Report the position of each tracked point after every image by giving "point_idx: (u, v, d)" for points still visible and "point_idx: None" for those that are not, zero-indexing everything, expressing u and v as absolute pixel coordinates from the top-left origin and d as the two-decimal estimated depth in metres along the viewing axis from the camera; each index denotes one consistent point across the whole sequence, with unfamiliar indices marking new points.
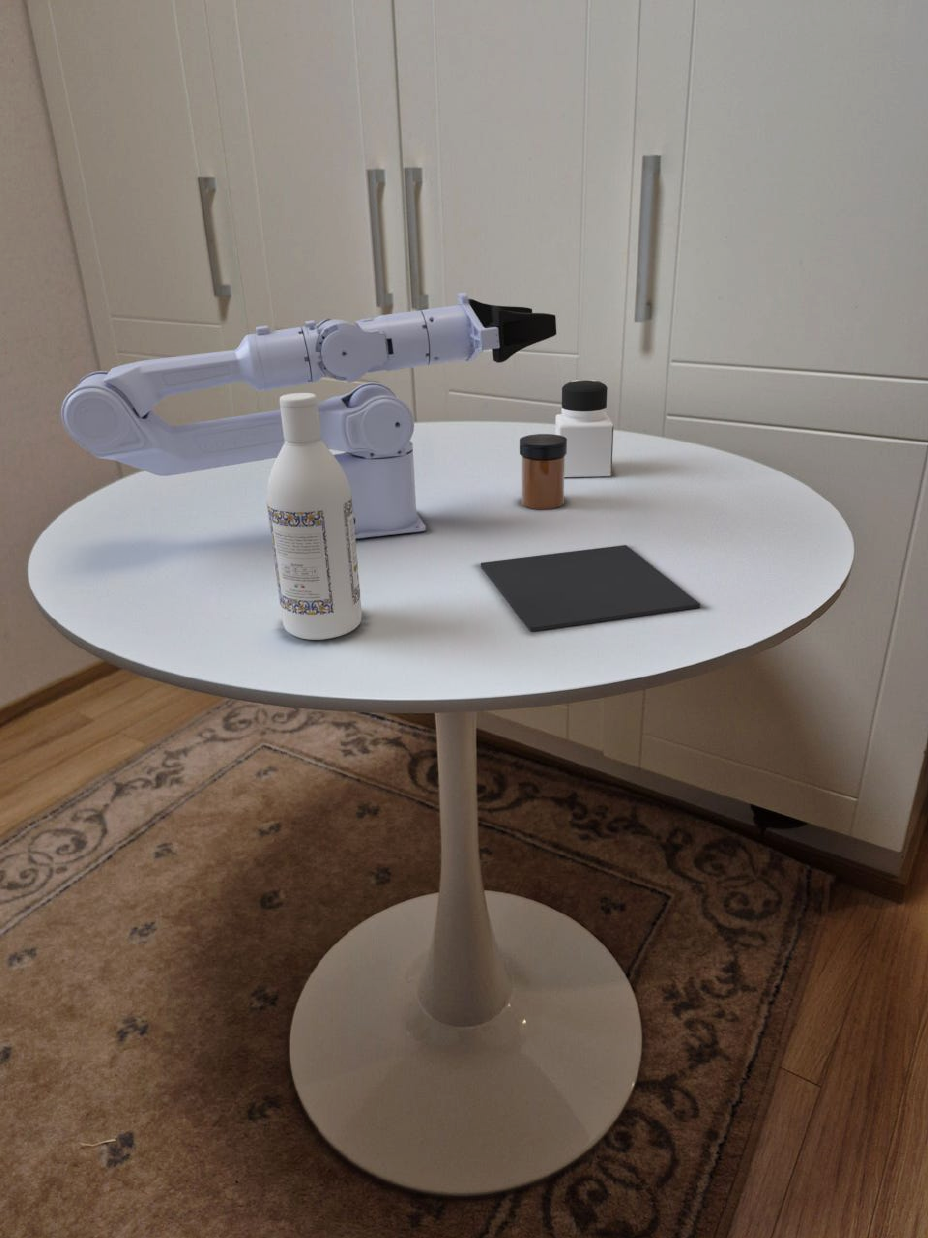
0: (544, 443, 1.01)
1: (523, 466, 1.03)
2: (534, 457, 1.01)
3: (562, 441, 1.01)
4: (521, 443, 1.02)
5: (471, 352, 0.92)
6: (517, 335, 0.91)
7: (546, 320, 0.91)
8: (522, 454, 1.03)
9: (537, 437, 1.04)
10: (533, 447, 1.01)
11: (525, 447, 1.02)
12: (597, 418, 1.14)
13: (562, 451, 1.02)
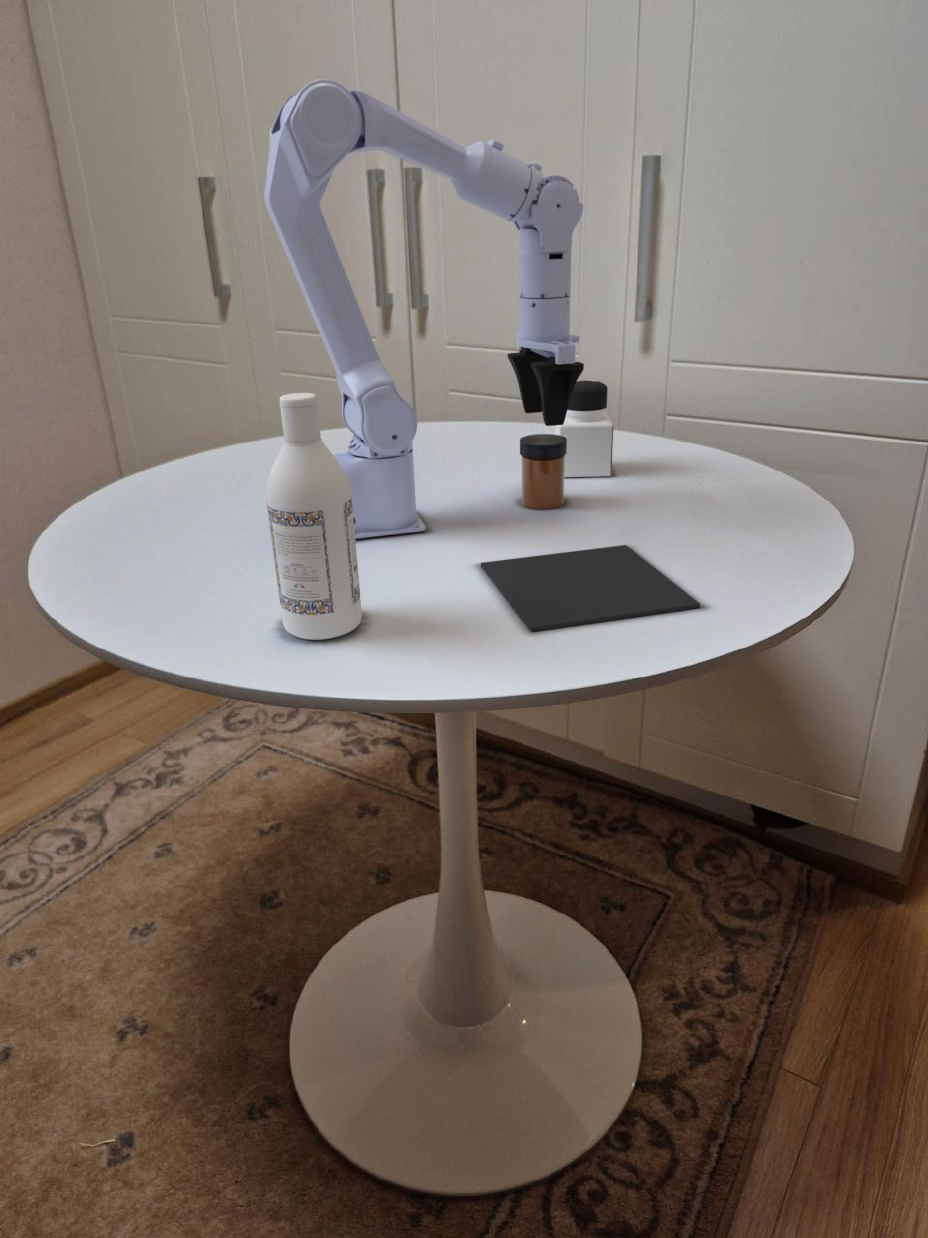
0: (544, 443, 1.01)
1: (523, 466, 1.03)
2: (534, 457, 1.01)
3: (562, 441, 1.01)
4: (521, 443, 1.02)
5: (536, 341, 0.95)
6: (552, 386, 0.96)
7: (560, 415, 0.98)
8: (522, 454, 1.03)
9: (537, 437, 1.04)
10: (533, 447, 1.01)
11: (525, 447, 1.02)
12: (597, 418, 1.14)
13: (562, 451, 1.02)
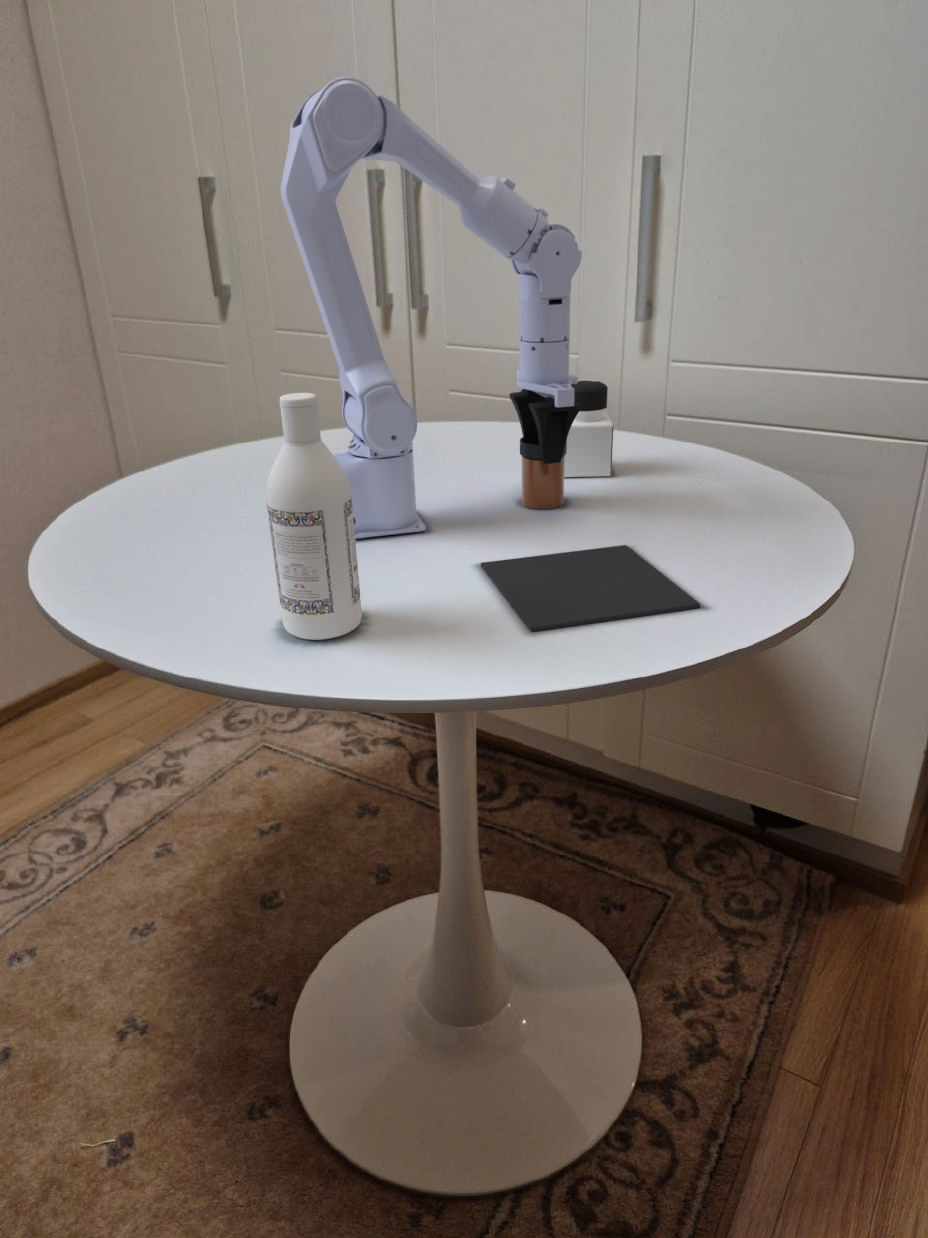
0: None
1: (523, 466, 1.03)
2: (534, 457, 1.01)
3: None
4: (521, 443, 1.02)
5: (535, 384, 0.97)
6: (549, 426, 0.99)
7: (558, 454, 1.00)
8: (522, 454, 1.03)
9: (537, 437, 1.04)
10: (533, 447, 1.01)
11: (525, 447, 1.02)
12: (597, 418, 1.14)
13: None
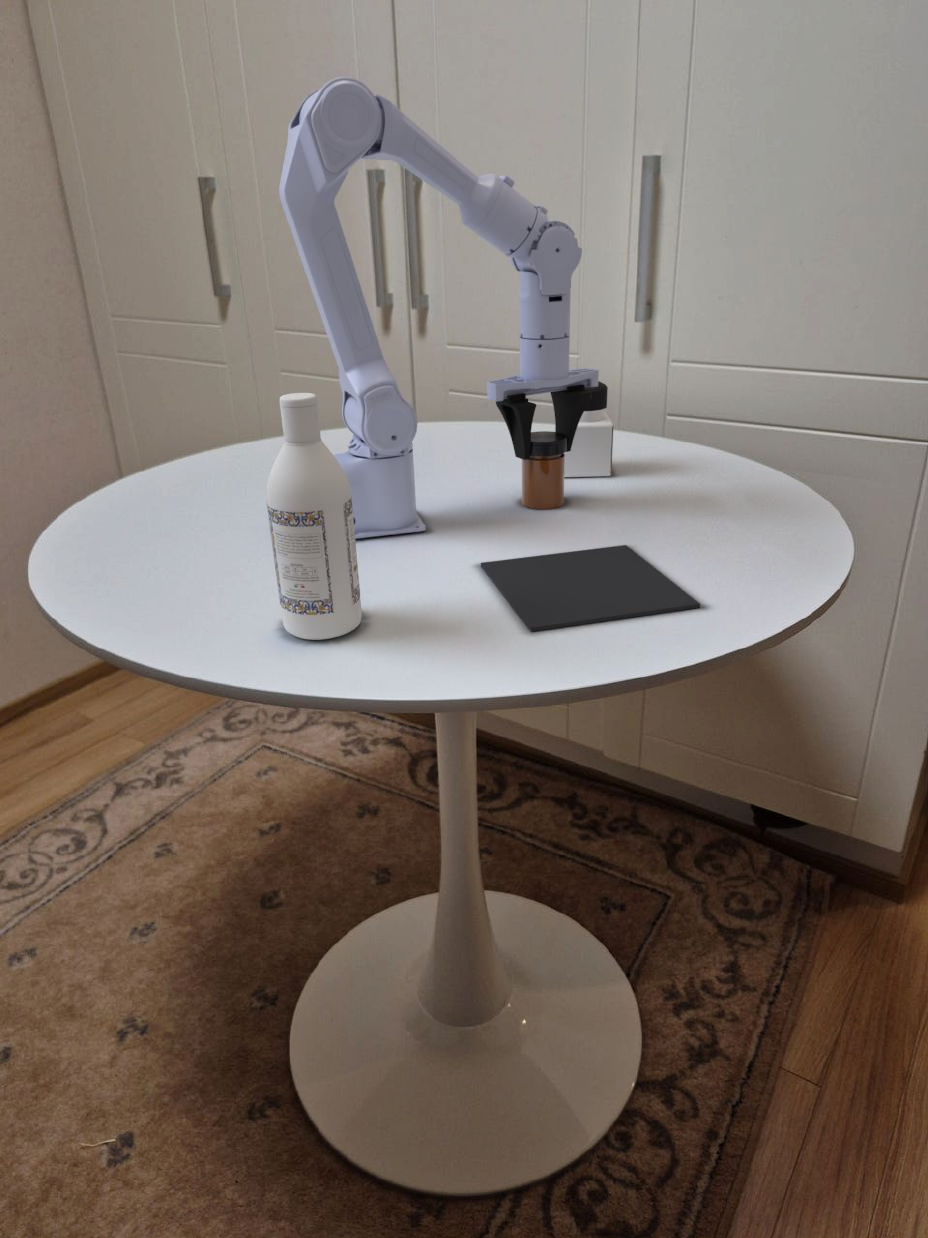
0: (558, 435, 1.03)
1: (523, 466, 1.03)
2: (566, 449, 1.03)
3: (549, 431, 1.05)
4: (557, 442, 1.01)
5: (570, 376, 0.99)
6: None
7: None
8: (559, 452, 1.01)
9: (536, 438, 1.02)
10: (566, 439, 1.02)
11: (563, 443, 1.01)
12: (597, 418, 1.14)
13: None
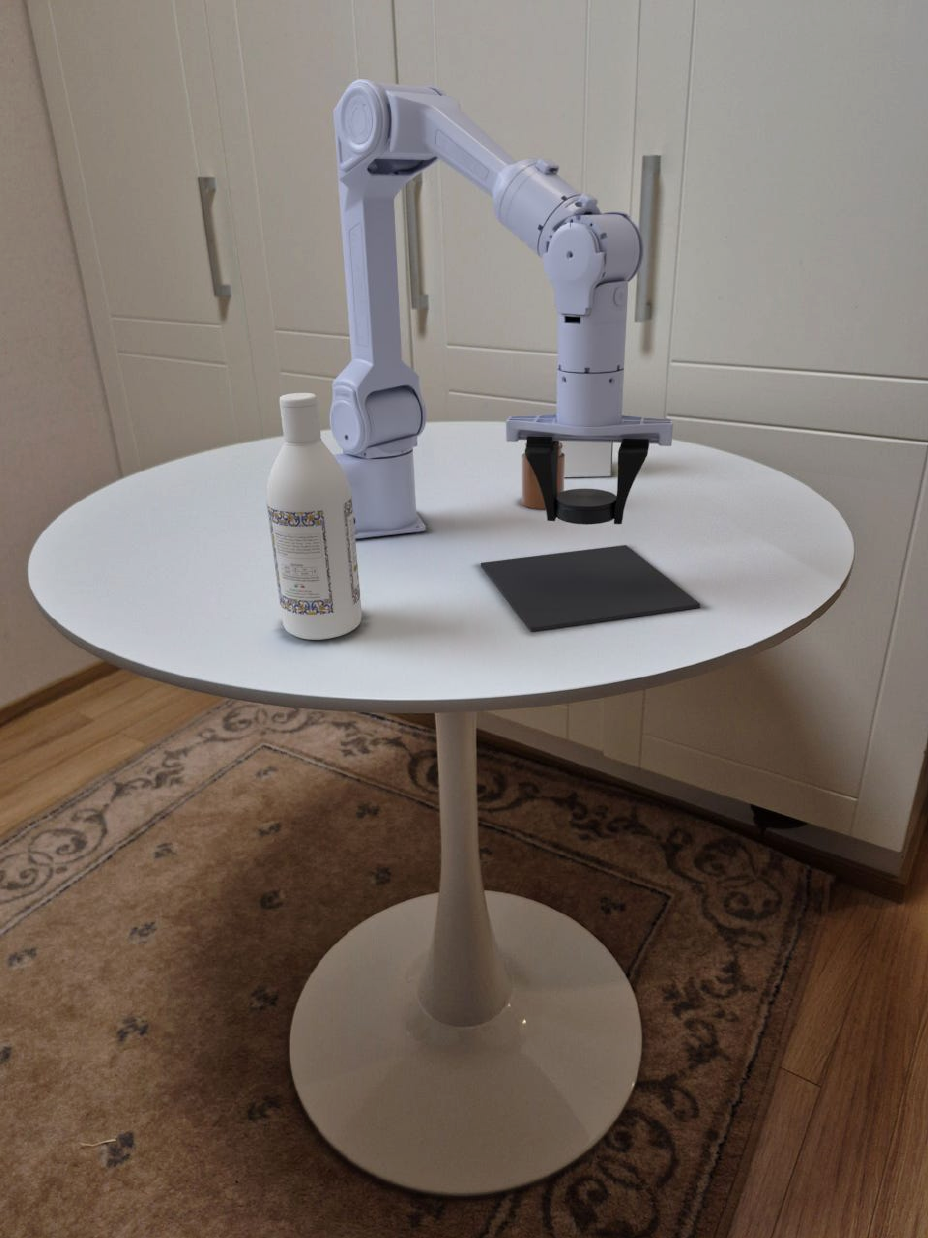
0: (606, 499, 0.78)
1: (523, 466, 1.03)
2: (606, 520, 0.77)
3: (609, 492, 0.80)
4: (583, 508, 0.76)
5: None
6: None
7: None
8: (586, 522, 0.77)
9: (572, 497, 0.79)
10: (606, 508, 0.77)
11: (594, 511, 0.76)
12: None
13: None
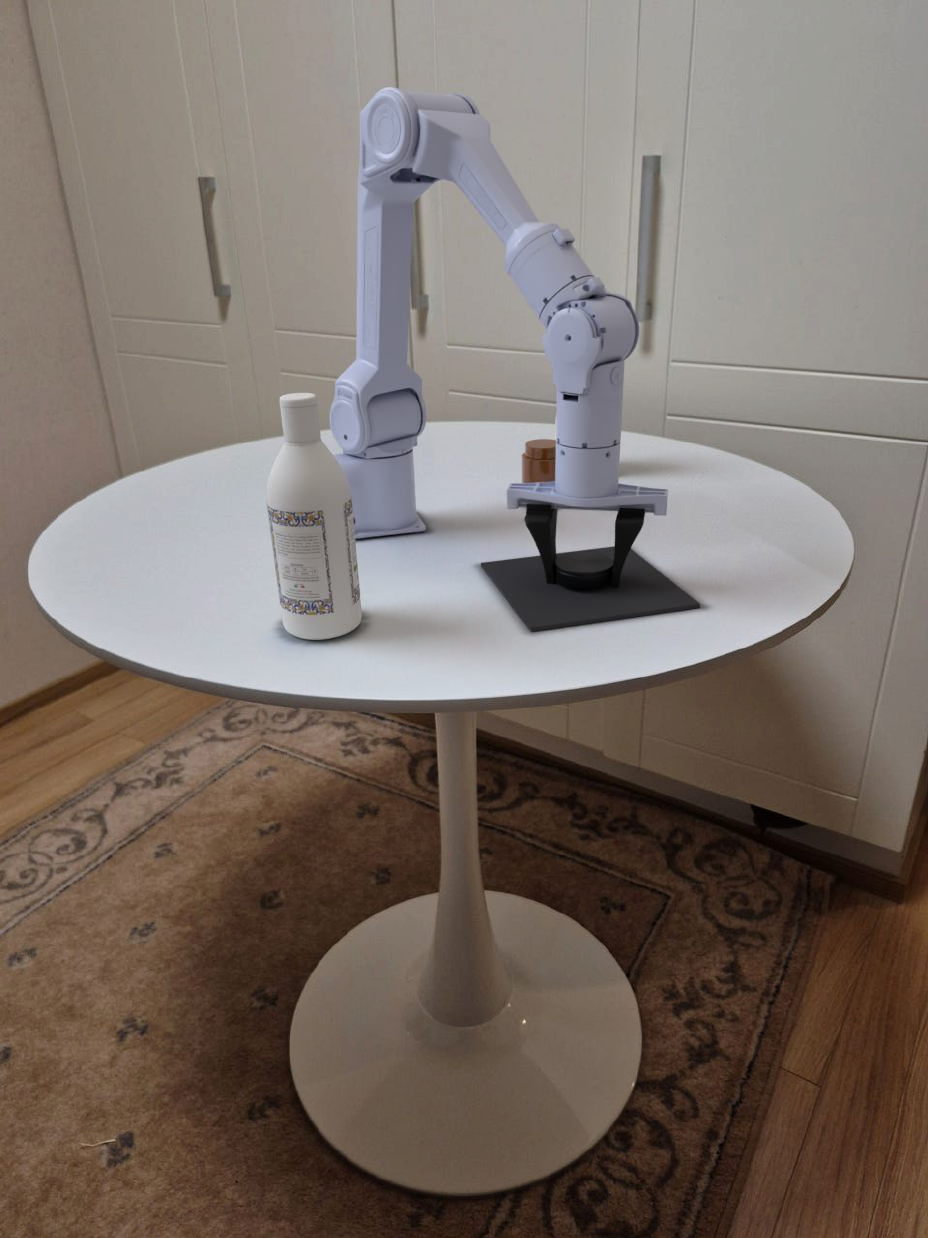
0: (603, 564, 0.80)
1: (523, 466, 1.03)
2: (603, 585, 0.80)
3: (607, 556, 0.82)
4: (581, 574, 0.79)
5: (612, 497, 0.76)
6: None
7: None
8: (584, 587, 0.79)
9: (570, 562, 0.81)
10: (603, 573, 0.79)
11: (592, 577, 0.79)
12: None
13: None
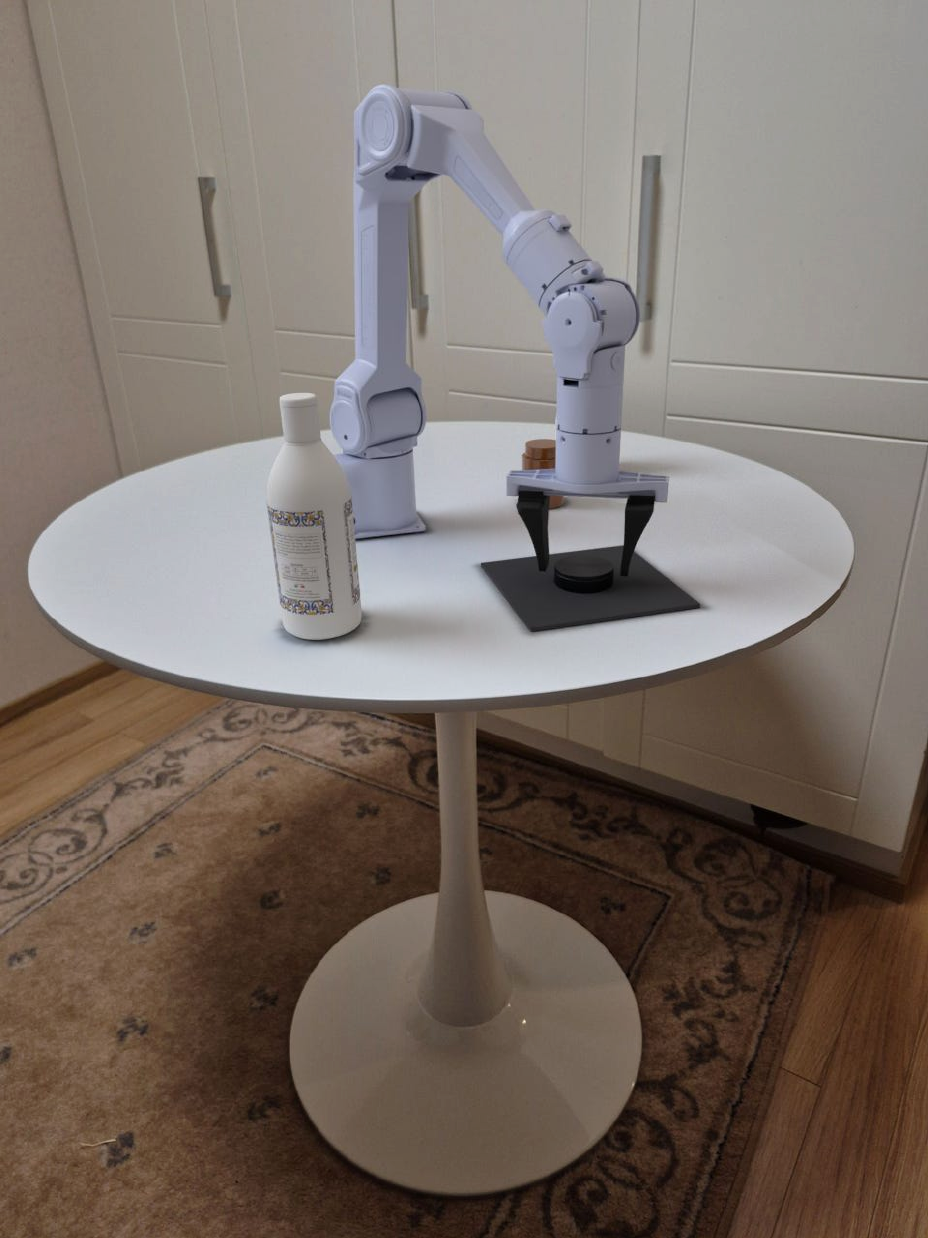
0: (603, 568, 0.81)
1: (523, 466, 1.03)
2: (604, 589, 0.80)
3: (607, 560, 0.82)
4: (581, 578, 0.79)
5: None
6: None
7: None
8: (584, 591, 0.80)
9: (570, 566, 0.81)
10: (603, 577, 0.79)
11: (592, 581, 0.79)
12: None
13: None
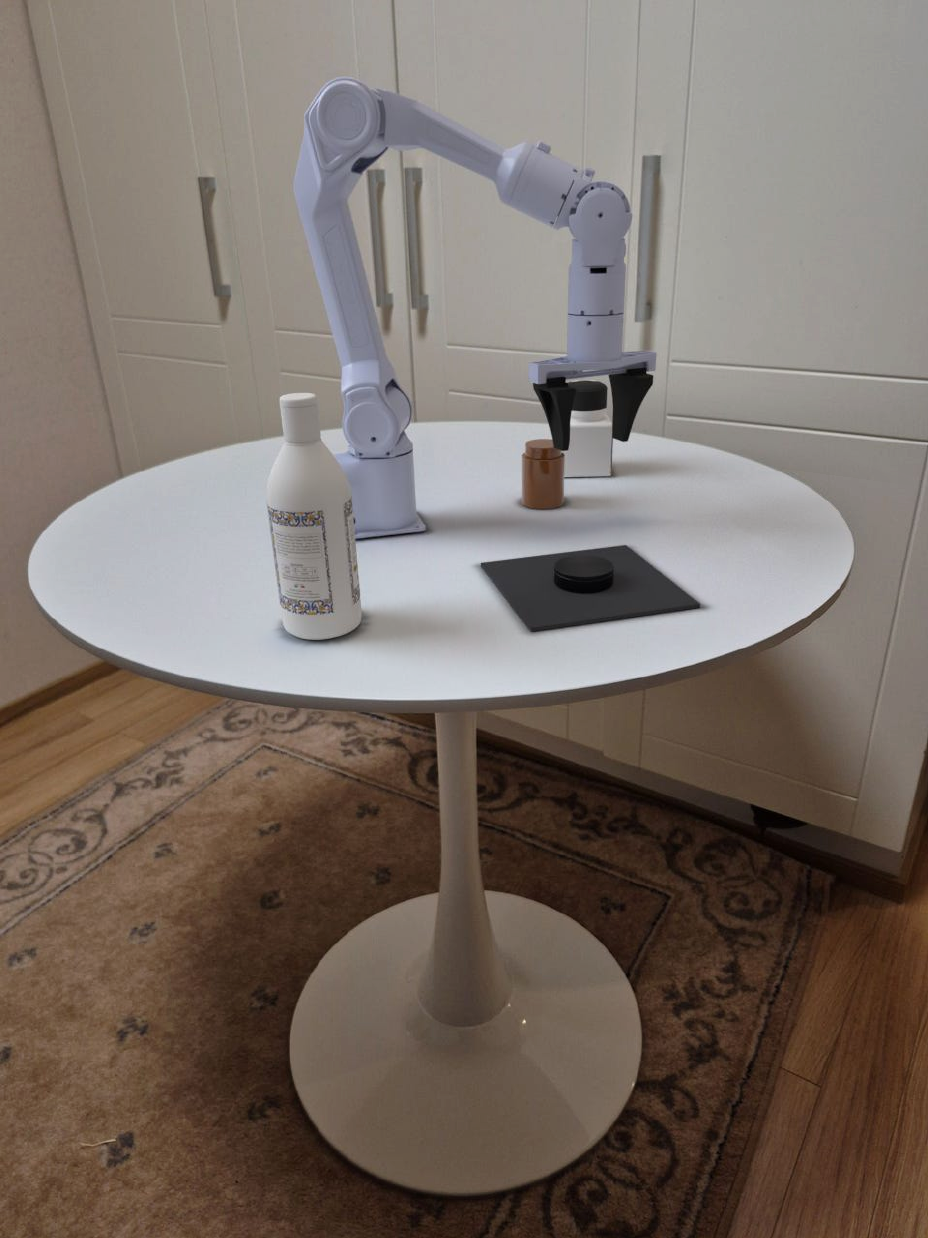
0: (603, 568, 0.81)
1: (523, 466, 1.03)
2: (604, 589, 0.80)
3: (607, 560, 0.82)
4: (581, 578, 0.79)
5: (623, 358, 0.89)
6: None
7: None
8: (584, 591, 0.80)
9: (570, 566, 0.81)
10: (603, 577, 0.79)
11: (592, 581, 0.79)
12: (597, 418, 1.14)
13: None
